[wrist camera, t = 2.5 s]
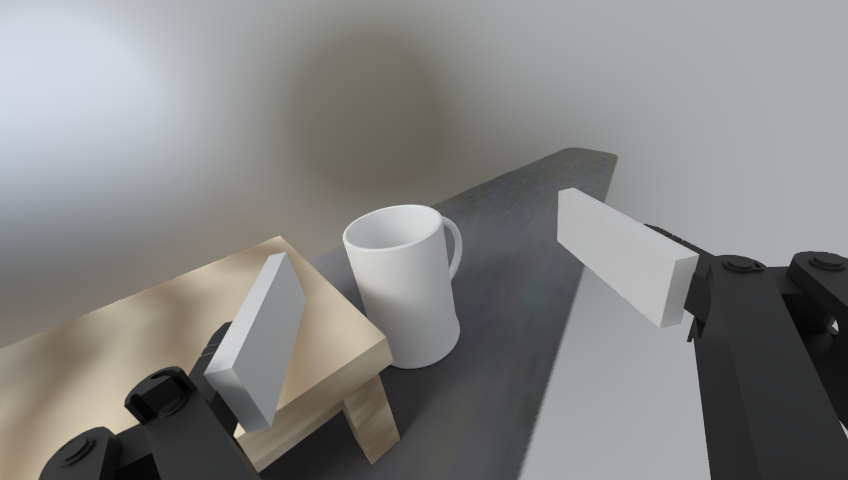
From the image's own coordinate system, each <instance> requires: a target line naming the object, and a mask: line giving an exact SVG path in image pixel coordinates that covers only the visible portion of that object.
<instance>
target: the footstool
mask: <svg viewBox="0 0 848 480" xmlns="http://www.w3.org/2000/svg"><path fill="white" fill-rule="evenodd" d="M283 252H286V253H287V255H288V257H289V259H290V262H291V264H292V266H293V269H294V271H295V273H296V275H297V278H298V280H299V282H300V285H301V287H302V289H303V292H304V294H305V296H306V298H307V300H306V303H305V307H304V311H303V314H302V318H301V321H300V325H299V329H298V332H297V336H296V339H295V343H294V347H293V350H292V354H291V357H290V361H289V365H288V368H287V372H286V376H285V379H284V383H283V386H282V390H281V394H280V397H279V401H278V404H277V408H276V412H275V415H274V419H273V422H272V426H271V428H267V429H263V430H259V431H255V432H251V433H247V434H246V432H245V431H244V429H243V428H242V427H241V425H240V424H239V423H238V425H237V428H236V430H235V433H234V437H235V438H236V439H237V441H238V442H239V444H240V445H241V447H242V448H243V450H244V452H245V453H246V455H247V456H248V458H249V459H250V461H251V463H252V464H253V466H254V467H255V469H256V470H257V472H258V473H259V472H260V471H262V470H263V469H264V468H266V467H267V466H268V465H270V464H271V463H272V462H274V461H275V460H276V459H278V458H279V457H280V456H282V455H283V454H284V453H286V452H287V451H288V450H290V449H291V448H292V447H294V446H295V445H296V444H298V443H299V442H300V441H302V440H303V439H304V438H306V437H307V436H308V435H310V434H311V433H312V432H313V431H315V430H316V429H317V428H319V427H320V426H321V425H323V424H324V423H325V422H327V421H328V420H329V419H331V418H332V417H333V416H335V415H336V414H337V413H339V412H340V411H341V410H343V413H344V415H345V417H346V419H347V422H348V424H349V426H350V428H351V431H352V433H353V435H354V437H355V439H356V441H357V442H358V444H359V446H360V447H361V449H362V450H363V452H364V454H365V455H366V457H367V458H368V460H369V461H370V463H371V465H373V464H374V463H375V462H376V461H377V460H378V459H379V458H380V457H381V456H383V455H384V454H385V453H386V452H387V451H388V450H389V449H390V448H392V447H393V446H394V445H395V444H396V443H397V442H398V441H399V440H401V439H400V436H399V433H398V430H397V427H396V424H395V421H394V418H393V415H392V412H391V409H390V406H389V403H388V400H387V397H386V394H385V391H384V388H383V385H382V382H381V379H380V376H379V372H380V371H382V370H383V369H384V368H386V367H387V366H388V365H390V364H391V363H393V362H394V361H393V358H392V354H391V351H390V347H389V344H388V340H387V337H386V336H385V335H384V334H383V333H382V332H381V331H380V330H379V329H378V328H377V327H375V326H374V325H373V324H372V323H371V322H370V321H369V320H368V319H367V318H366V317H365V316H364V315H363V314H362V313H361V312H360V311H359V310H358V309H356V308H355V307H354V306H353V305H352V304H351V303H350V302H349V301H348V300H347V299H346V298H345V297H344V296H343V295H342V294H341V293H340V292H339V291H338V290H336V289H335V288H334V287H333V286H332V285H331V284H330V283H329V282H328V281H327V280H326V279H325V278H324V277H323V276H322V275H321V274H320V273H319V272H317V271H316V270H315V269H314V268H313V267H312V266H311V265H310V264H309V263H308V262H307V261H306V260H305V259H304V258H303V257H302V256H301V255H299V254H298V253H297V252H296V251H295V250H294V249H293V248H292V247H291V246H290V245H289V244H288V243H287V242H286V241H285V240H284V239H282V237H281V236H278V237H275V238H272V239H270V240H268V241H265V242H263V243H260V244H258V245H255V246H253V247H251V248H248V249H245V250H243V251H240V252H238V253H235V254H233V255H231V256H228V257H226V258H223V259H221V260H218V261H216V262H213V263H211V264H208V265H206V266H203V267H201V268H199V269H196V270H193V271H191V272H189V273H186V274H184V275H181V276H179V277H176V278H174V279H171V280H169V281H166V282H164V283H162V284H159V285H156V286H154V287H152V288H149V289H147V290H144V291H142V292H139V293H137V294H134V295H132V296H129V297H127V298H124V299H122V300H119V301H117V302H115V303H112V304H110V305H107V306H105V307H102V308H100V309H98V310H95V311H92V312H90V313H87V314H85V315H82V316H80V317H78V318H75V319H73V320H70V321H68V322H65V323H63V324H60V325H58V326H55V327H53V328H51V329H48V330H45V331H43V332H40V333H38V334H35V335H33V336H31V337H28V338H26V339H23V340H21V341H18V342H16V343H13V344H11V345H9V346H6V347H3V348H1V349H0V480H38V479H39V476H40V474H41V471H42V470H43V468H44V466H45V465H46V463H47V461H48V460H49V459H50V458H51V457H52V456H53V455H54V454H55V453H56V452H57V450H58V449H59V448H61V447H62V446H63V445H65V444H66V443H67V442H68V441H69V440H71V439H72V438H74V437H76V436H78V435H79V434H81V433H83V432H85V431H87V430H90V429H92V428H94V427H101V426H104V427H106V428H108V429H109V430H110V431H112V432H113V433H114V434H115V435H116V434H118V433H120V432H122V431H124V430H126V429H128V428H130V427H133V426H135V425H137V424H139V423H140V422H139V421H138V420H137V419H136V418H135V417H134V416H133V415H132V414H131V413H130V412H129V411H128V410H127V409H126V408H125V407H124V402H125V399H126V397H127V395H128V394H129V392H130V391H131V390H132V389H133V388H134V387H135V386H136V385H137V384H138V383H139V382H140V381H142V380H143V379H145V378H146V377H147V376H149V375H151V374H153V373H154V372H156V371H158V370H160V369H163V368H167V367H170V366H178V367H180V368H182V369H183V370H184V372H185V373H186V374H187V376H188V375H189V373H190V372H191V370H192V368H193V367H194V365H195V363H196V362H197V360H198V358H199V357H201V353H202V352H203V350H204V349H205V347H207V344H208V342H209V340H210V339H211V337H212V335H213V334H214V333H215V332H216V331H217V330H218V329H219V328H220V327H221V326H222V325H223V324H224V323H226V322H231V321H233V320H234V318H235V317H236V315H237V313H238V311H239V309H240V308H241V306H242V304H243V302H244V300H245V299H246V297H247V295H248V293H249V291H250V290H251V288H252V286H253V284H254V282H255V281H256V279H257V277H258V275H259V273H260V272H261V270H262V268H263V266H264V264H265V263H266V261H267V259H268V257H269V256H270V255H274V254H279V253H283Z"/></svg>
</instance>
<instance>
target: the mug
mask: <svg viewBox="0 0 848 480" xmlns="http://www.w3.org/2000/svg"><path fill="white" fill-rule="evenodd" d="M443 226H447V227H449V228H450V229H451V231H452V232H453V235H454V238H455V253H454V257H453V261H452V263H451V266H450V268H449V265H448V258H447V251H446V244H445V236H444V229H443ZM343 241H344V244H345V248H346V251H347V254H348V257H349V260H350V263H351V267H352V270H353V273H354V276H355V279H356V282H357V286H358V289H359V292H360V295H361V298H362V301H363V305H364V308H365V311H366V314H367V317H368V320H369V321H370V322H371V323H372V324H373V325H374V326H375V327H377V328H378V329H379V330H380V331H381V332H382V333H383V334H384V335H385V336H386V337H387V340H388V344H389V347H390V351H391V354H392V358H393V361H394V362H393V363H391V364H390V365H392V366H395V367H398V368H405V369H414V368H421V367H425V366H428V365H431V364H434V363H436V362H438V361H439V360H441V359H443V358H444V357H445V356H446V355H448V354H449V353H450V352H451V351H452V349H453V348H454V347H455V345H456V343H457V341H458V339H459V335H460V325H459V321H458V319H457V317H456V313H455V307H454V301H453V293H452V286H451V280H452V279H453V277H454V275H455V273H456V271H457V269H458V266H459V263H460V259H461V254H462V239H461V235H460V232H459V230H458V228H457V226H456V225H455V224H454V223H453V222H452V221H451V220H450V219H448V218H446V217H443V216H441V215H440V213H439V212H438V211H436V210H435V209H433V208H430V207H427V206H421V205H399V206H392V207H387V208H383V209H380V210H377V211H374V212H371V213H368V214H366V215H364V216H362V217H360V218H359V219H357V220H355V221H354V222H352V223H351V224H350V225H349V226H348V227H347V228H346V230H345V231H344V234H343Z"/></svg>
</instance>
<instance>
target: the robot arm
mask: <svg viewBox="0 0 848 480" xmlns="http://www.w3.org/2000/svg"><path fill="white" fill-rule="evenodd" d="M557 241H558V242H559V243H561V244H562V245H563V246H564V247H565V248H566V249H567V250H569V251H570V252H571V253H572V254H573V255H574V256H576V257H577V258H578V259H579V260H580V261H581V262H583V263H584V264H585V265H586V266H587V267H588V268H590V269H591V270H592V271H593V272H595V274H597V275H598V276H599V277H600V278H601V279H602V280H604V281H605V282H606V283H607V284H608V285H609V286H611V287H612V288H613V289H614V290H615V291H616V292H618V293H619V294H620V295H621V296H622V297H623V298H625V299H626V300H627V301H628V302H629V303H631V304H632V305H633V306H634V307H635V308H636V309H637V310H638V311H640V312H641V313H642V314H643V315H644V316H646V317H647V318H648V319H649V320H650V321H651V322H652V323H654V324H655V325H656V326H657V327H658V328H663V327H667V326H671V325H675V324H679V323H681V319H682V315H683V312H684V309H685V310H687V311H688V312H690V313H691V314H692V315H694V319H693V323H692V326H691V329H690V332H689V336H688V339H687V342H691V341H692V338H694V346H695V354H696V362H697V370H698V379H699V387H700V394H701V402H702V411H703V419H704V426H705V434H706V443H707V451H708V459H709V467H710V475H711V480H848V438H847V436H846V434H845V432H844V430H843V428H842V425H841V423H842V424H843V425H844V426H845V428H846V429H847V430H848V259H847V258H844V257H841V256H839V255H837V254H833V253H830V254H829V253H828V252H813V251H808V252H800V253H797V254H795V255H794V257H793V259H792V261H791V264H790V266H789V267H766V266H765V265H764V264H762V263H760V262H758V261H756V260H753V259H750V258H747V257H742V256H737V255H720V256H714V255H712V254H710V253H708V252H706V251H704V250H702V249H700V248H698V247H696V246H694V245H692V244H690V243H688V242H686V241H684V240H683V241H682V239H681V238H679V237H677V236H675V235H672V234H671V233H669V232H667V231H665V230H663V229H661V228H659V227H655V226H651V225H648V224H641V223H639V222H637V221H635V220H633V219H631V218H630V217H628V216H626V215H624V214H622V213H620V212H619V211H617V210H615V209H613V208H611V207H609V206H607V205H605V204H604V203H602V202H600V201H598V200H596V199H594V198H592V197H590V196H589V195H587V194H585V193H583V192H581V191H579V190H577V189H575V188H570V189H565V190H561V191H559V199H558V231H557ZM306 300H307V298H306V296H305V294H304V292H303V289H302V287H301V285H300V282H299V280H298V278H297V275H296V273H295V271H294V269H293V266H292V264H291V262H290V259H289V257H288V255H287V253H286V252H283V253H279V254H274V255H270V256H269V257H268V259H267V261H266V263H265V264H264V266H263V268H262V270H261V272H260V273H259V275H258V277H257V279H256V281H255V282H254V284H253V286H252V288H251V290H250V291H249V293H248V295H247V297H246V299H245V300H244V302H243V304H242V306H241V308H240V309H239V311H238V313H237V315H236V317H235V318H234V320H233V321H231V322H226V323H224V324H223V325H222V326H221V327H220V328H219V329H218V330H217V331H216V332H215V333H214V334H213V335H212V337H211V339H210V340H209V342H208V344H207V347H205V349H204V350H203V352H202V353H201V357H199V358H198V360H197V362H196V363H195V365H194V367H193V368H192V370H191V372H190V373H189V375H188V376H187V374H186V373H185V372H184V370H183V369H182V368H180V367H178V366H170V367H167V368H163V369H160V370H158V371H156V372H154V373H153V374H151V375H149V376H147V377H146V378H145V379H143V380H142V381H140V382H139V383H138V384H137V385H136V386H135V387H134V388H133V389H132V390H131V391H130V392H129V394H128V395H127V397H126V399H125V402H124V407H125V408H126V409H127V410H128V411H129V412H130V413H131V414H132V415H133V416H134V417H135V418H136V419H137V420H138V421H139V422H140V423H139V424H137V425H135V426H133V427H130V428H128V429H126V430H124V431H122V432H120V433H118V434H116V435H115V434H114V433H113V432H112V431H110V430H109V429H108V428H106V427H104V426H101V427H94V428H92V429H90V430H87V431H85V432H83V433H81V434H79V435H78V436H76V437H74V438H72V439H71V440H69V441H68V442H67V443H66V444H65V445H63V446H62V447H61V448H59V449H58V450H57V452H56V453H55V454H54V455H53V456H52V457H51V458H50V459H49V460H48V461H47V463H46V465H45V466H44V468H43V470H42V471H41V474H40V476H39V479H38V480H262V478H261V477H260V475H259V474H258V472H257V470H256V469H255V467H254V466H253V464H252V463H251V461H250V459H249V458H248V456H247V455H246V453H245V452H244V450H243V448H242V447H241V445H240V444H239V442H238V441H237V439H236V438H235V437H234V433H235V430H236V428H237V425H238V423H239V424H240V425H241V427H242V428H243V429H244V431H245V432H246V434H247V433H251V432H255V431H259V430H263V429H267V428H271V426H272V422H273V419H274V415H275V412H276V408H277V404H278V401H279V397H280V394H281V390H282V386H283V383H284V379H285V376H286V372H287V368H288V365H289V361H290V357H291V354H292V350H293V347H294V343H295V339H296V336H297V332H298V329H299V325H300V321H301V318H302V314H303V311H304V307H305V303H306ZM835 320H836V322H837V324H838V331H837V330H836V329H835V328H833V327H832V325H833V324H834V322H835ZM839 420H840V421H841V423H840V421H839Z"/></svg>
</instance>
